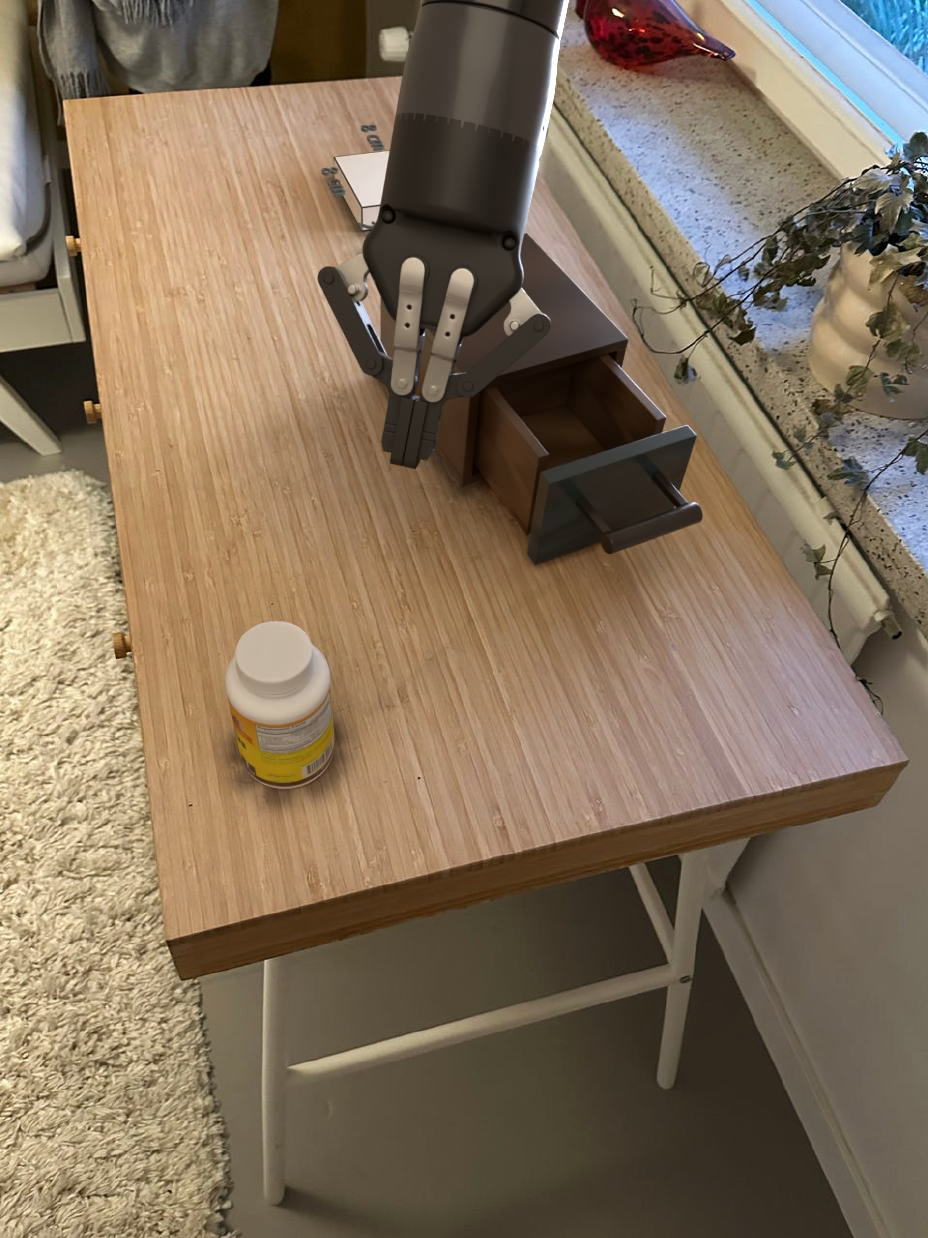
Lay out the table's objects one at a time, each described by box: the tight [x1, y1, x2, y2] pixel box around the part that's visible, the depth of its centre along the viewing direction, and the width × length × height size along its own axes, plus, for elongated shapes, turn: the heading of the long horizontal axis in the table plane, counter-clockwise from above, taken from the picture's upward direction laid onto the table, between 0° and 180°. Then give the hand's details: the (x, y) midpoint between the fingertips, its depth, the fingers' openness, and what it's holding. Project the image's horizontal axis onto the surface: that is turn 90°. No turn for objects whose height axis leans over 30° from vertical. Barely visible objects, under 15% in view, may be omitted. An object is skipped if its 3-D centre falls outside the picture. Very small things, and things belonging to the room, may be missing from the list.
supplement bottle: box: [224, 620, 336, 790], centre depth 56 cm, size 6×6×10 cm
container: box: [321, 123, 390, 237], centre depth 98 cm, size 20×12×3 cm, turn 20°
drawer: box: [473, 354, 704, 566], centre depth 71 cm, size 18×11×8 cm, turn 27°
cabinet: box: [379, 232, 629, 488], centre depth 77 cm, size 15×13×10 cm
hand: (404, 464), depth 56 cm, fingers closed
